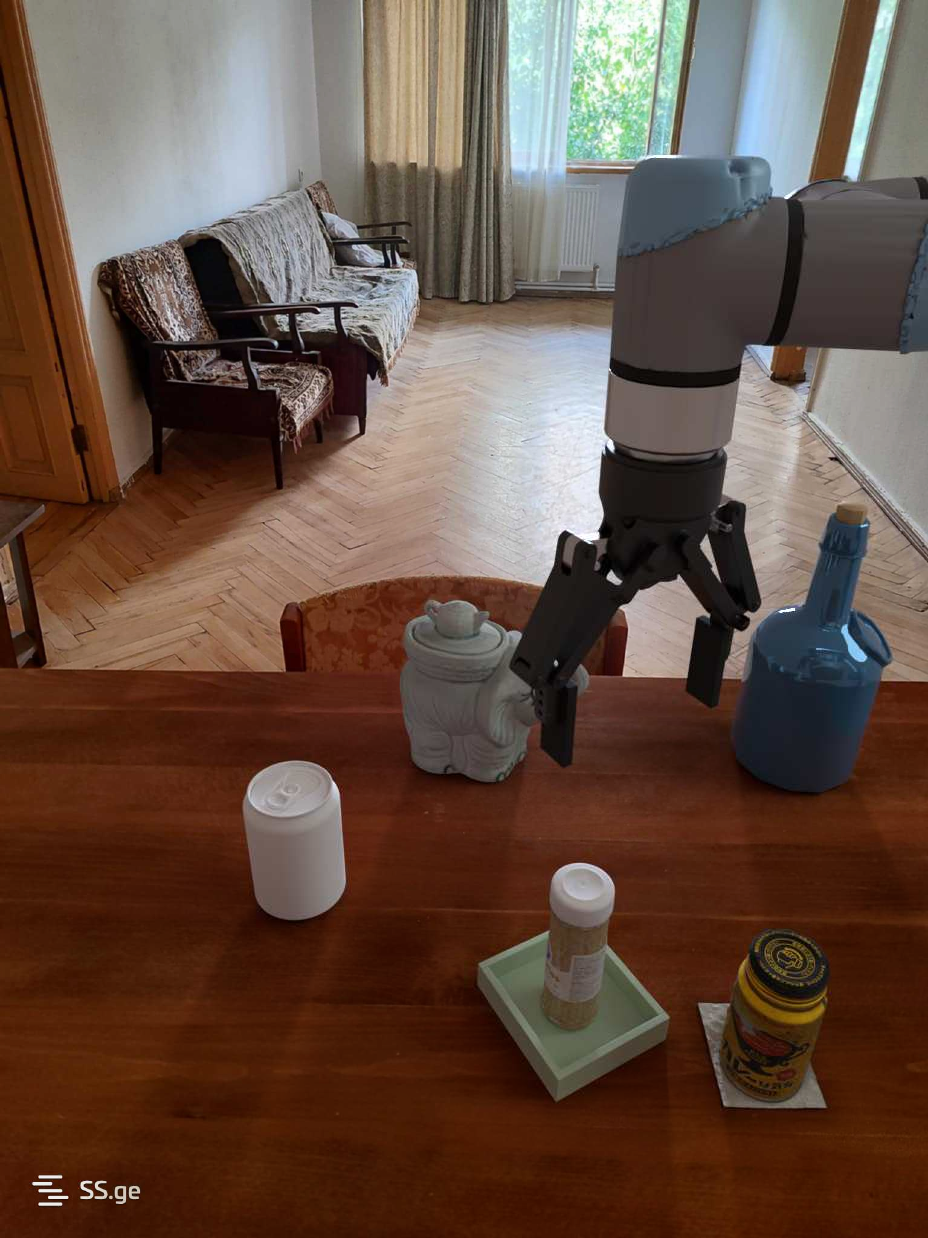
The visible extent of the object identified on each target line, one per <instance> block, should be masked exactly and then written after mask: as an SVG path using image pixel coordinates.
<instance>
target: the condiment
mask: <svg viewBox="0 0 928 1238" xmlns="http://www.w3.org/2000/svg"><path fill="white" fill-rule="evenodd" d="M747 952H748V954H747V955H746V958H745V959H744V960H743V961H742V963H741V964H740V965H739V967H738V970H737V972H736V973H737V974H736V977H735V981H734V983H733V985H732V994H731V996H730V999H729V1003H725V1002H723V1003H712V1002H698V1003H697V1005H698V1009H699V1012H700V1017H701V1020H702V1024H703V1029H704V1031H705V1036H706V1040H707V1044H708V1049H709V1053H710V1057H711V1061H712V1065H713V1068H714V1074H715V1077H716V1081H717V1085H718V1088H719V1093H720V1098H721V1101H722V1103H723V1106H724V1107H725V1108H750V1109H805V1108H807V1109H809V1108H810V1109H815V1108H817V1109H827V1108H828V1107H827V1105H826V1102H825V1098H824V1096H823V1093H822V1091H821V1089H820V1086H819V1084H818V1080H817V1077H816V1074H815V1071H814V1069H813V1066H812V1062H811V1057H812V1053H813V1051H814V1048H815V1044H816V1042H817V1039H818V1035H819V1032H820V1029H821V1026H822V1023H823V1019H824V1017H825V1013H826V1010H827V1007H828V993H827V989H828V983H829V980H830V977H831V970H830V962H829V960H828V958H827V956H826V953H825V952H824V950H823V949H822V948H821V947H820V945H819V944H818V943H816V942H815V940H812V939H811V938H809V937H808V936H805V935H804V934H801V933H799V932H797V931H794V930H791V929H785V928H772V929H771V928H770V929H765V930H763V931H762V932H761V933H759V934H757V935H756V936H755V937H753V939H752V942H751V943H750V944H749V948H748V951H747Z"/></svg>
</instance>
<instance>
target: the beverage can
mask: <svg viewBox="0 0 928 1238" xmlns="http://www.w3.org/2000/svg"><path fill="white" fill-rule="evenodd" d="M242 814H243V821H244V828H245V835H246V841H247V849H248V854H249V856H248V857H249V861H250V869H251V876H252V883H253V890H254V896H255V899H256V902H257V904H258V906H259V907H260V908H261V909H262V910H264V912H265V913H267V914H269V915H271V916H273V917H274V918H277V919H281V920H286V921H301V920H307V919H311V918H315V917H317V916H319V915H321V914H323V913H325V912H327V911H328V910H330V909H331V908H332V907H333V906H334V905H335V904H336V903H337V902H339V900H340V899H341V897H342V895H343V893H344V891H345V888H346V882H347V880H346V878H347V877H346V865H345V863H346V861H345V850H344V837H343V836H344V835H343V822H342V809H341V795H340V791H339V789H338V786H337V784H336V782H335V781H334V780H333V778H332V776H331V774H330V773H329V772H328V770H327V769H325V768H324V767H322V766H320V765H319V764H316V763H313V762H310V761H304V760H289V761H282V762H278V763H275V764H272V765H270V766H268V767H266V768H264V769H262V770H261V771H259V772H258V773H257V774H256V775H254V776H253V778H252V779H251V780H250V781H249V783H248V786H247V789H246V793H245V795H244V798H243V801H242Z"/></svg>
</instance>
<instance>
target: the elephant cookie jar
mask: <svg viewBox="0 0 928 1238" xmlns="http://www.w3.org/2000/svg"><path fill="white" fill-rule="evenodd" d="M423 605H424V606H423V608H424V613H425V615H422V616H419V617H416V618H414V619H412V620H411V621H409V622H408V623H407V625H406V626H405V629H404V633H403V642H402V643H403V644H402V645H403V647H404V650H405V653H406V656H407V659H408V660H407V661H406V662H405V663H404V666H403V668H402V670H401V672H400V678H399V691H400V698H401V705H402V711H403V712H402V713H403V721H404V726H405V730H406V732H407V734H408V737H409V742H410V751H411V752H410V753H411V755H410V756H411V760H412V761H413V763H414V764H415V765H416V766H417V767H419V768H420V769H421V770H423V771H426V772H428V773H432V774H437V775H439V774H440V775H443V774H444V775H449V774H457V773H460V774H462V775H465V776H466V777H468V778H470V779H473V780H476V781H478V782H483V783H494V782H501V781H503V780H505V778H507V777H508V776H509V775H510V773H511V771H512V770H513V769H514V767H515V766H516V765H517V764H518V763H519V762H521V761H522V760H523V759H524V758H525V757H526V755H527V753H528V746H527V740H528V737H529V734H530V732H531V728H532V726H533V725H537V724H540V723H541V721H540V720H539V719H538V718H537V717H536V715H535V713H534V705H535V704H534V703H535V689H532V688H531V687H530V686H529V685H527V684H526V683H525V682H524V681H523V680H522V679H520V678H519V677H518V676H517V675H516V674H514V673H513V672H512V671H511V670H510V668H509V664H510V661H511V659H512V656H513V654H514V652H515V650H516V648H517V645H518V643H519V641H520V639H521V636H522V634H523V633H521V632H520V631H518V630H510V631H508V632H507V631H506V629H505V628H504V627H503V626H501V625H500V624H498V623H495V622H493V621H491V620H489V617H490V613H489V611H487V610H483V611H478V609H477V607H476V606H475V605H473V604H472V603H470V602H468V601H465V600H458V599H457V600H452V601H448V602H446V603H444V604H443V603H440V602H439V601H436V600H435V599H428V600H427V601H425V603H424V604H423ZM433 609H434V610H435V612H436V613H435V612H434V611H433ZM554 665H556V666H557V665H558V662H557V660H555V662H554ZM570 680H572V681H573V682H574V683H575V684H577V685H578V692H577V699H578V698H579V697H580V696H581V695H582V694H584V693H585V692H586V690H587V688H588V687H589V685H590V677H589V673H588V670H586V668H585V667H584V665H582V663H581V664H580V665H579V667H578V668H577V670H576V671H575V673H574V674H573V676H572V677H571V678H570Z"/></svg>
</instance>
